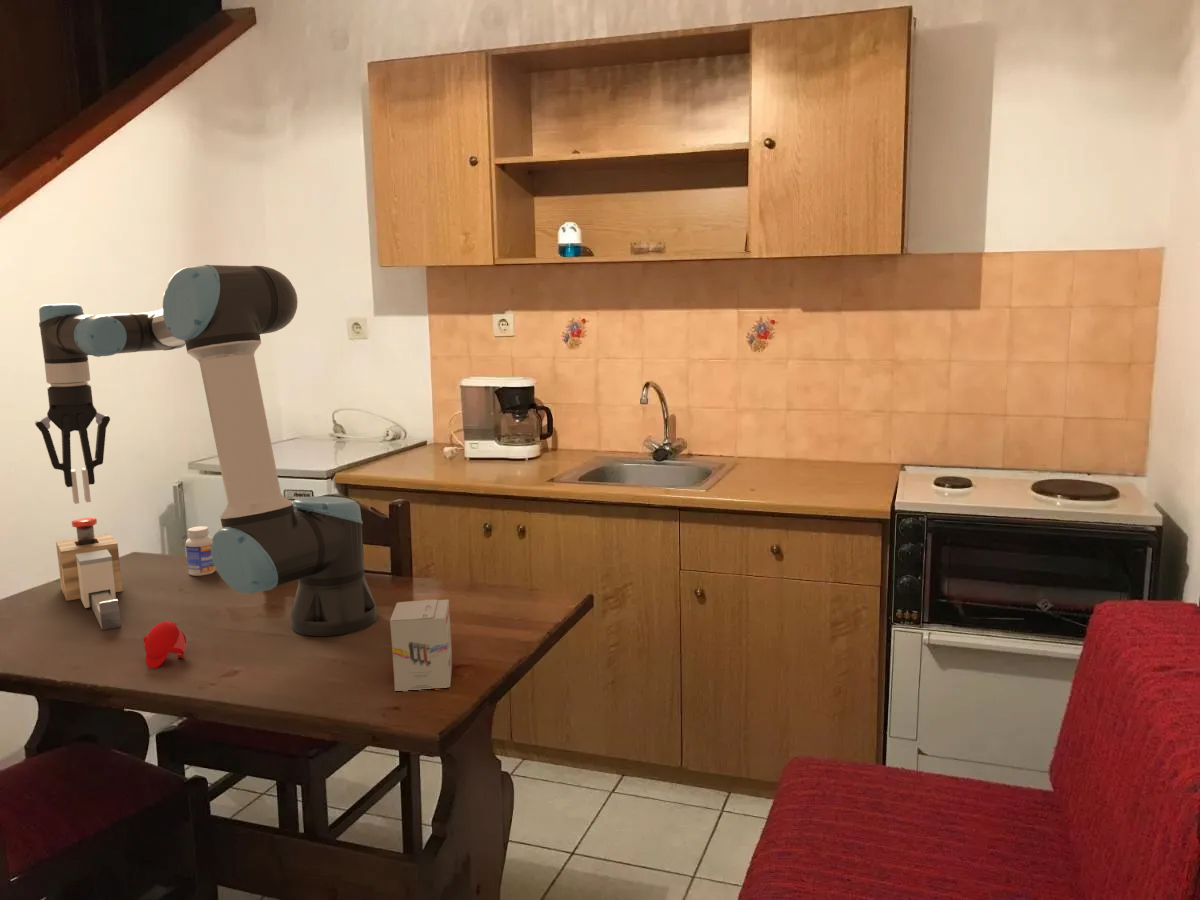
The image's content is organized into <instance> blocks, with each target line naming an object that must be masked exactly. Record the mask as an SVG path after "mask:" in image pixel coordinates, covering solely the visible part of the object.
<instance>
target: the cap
mask: <svg viewBox="0 0 1200 900" xmlns="http://www.w3.org/2000/svg"><path fill="white" fill-rule="evenodd" d="M142 641H143V643H144V652H145V663H146V666H147V667H148V668H149V669H152V668H154V669H157V668H159V667H161V666H162V665H163V663H164V662H165V661H166V659H167V657H168V655H169V654H172V653H173V654H176V655H177V657H178V658H179V659H182V658H183V657H184V656H185V652H186V646H187V645H186V644H187V638H186V635H185V633H184V632H183V631H182V630H180V628H179V627H178V626H177V624H176V623H175V622H171V621H162V622H159V623H157V624H156V625H154V626H153V627H152V628H151V629H150V630H149V632H148V633H147V635H145V636H144V637H143V638H142ZM154 669H153V670H154Z"/></svg>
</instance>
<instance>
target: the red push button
mask: <svg viewBox="0 0 1200 900" xmlns="http://www.w3.org/2000/svg"><path fill="white" fill-rule="evenodd" d="M97 520H98V519H97V518H95V517H82V518H77V519H74V520H72V521H71V527H72V528H76V537H77V538H78V545H79V546H81V545H88V544H95V537H94V536H95V530H94V525H97V523H98V521H97Z"/></svg>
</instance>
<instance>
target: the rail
mask: <svg viewBox="0 0 1200 900" xmlns="http://www.w3.org/2000/svg"><path fill="white" fill-rule="evenodd" d="M88 596H89V605H90V607H91V609H92V612H93V613H94V615H95V617H96V620H97V622H98V624H99V626H100V628H101V630H102V631H105V630H110V629H116V628H121V627H122V625H121V624H122V622H121V613H120V606H119V600H118V598H116V599H112V597H111V595H110V594H109V592H108V590H104V591H98V592H92V593H88Z"/></svg>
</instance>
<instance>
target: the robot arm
mask: <svg viewBox="0 0 1200 900" xmlns="http://www.w3.org/2000/svg"><path fill="white" fill-rule="evenodd" d="M297 295H298V294H297V292H296V289H295V286H294V285H293V283H292V282H291V281H290V279H289V278H288V277H287V276H285V274H283V273H282V272H280V271H279V270H276V269H274V268H272V267H269V266H264V265H220V264H218V265H217V264H214V265H213V264H203V265H194V266H186V267H183V268H181V269H179V270H177V271H176V272H175V273H174V274H173V275H172V276H171V278H170V279H169V281H168V283H167V286H166V287H165V289H164V293H163V299H162V308H161V309H158V310H154V311H149V312H138V313H109V314H108V313H107V314H85V313H84V310H83V307H82V305H80V304H78V303H55V304H54V303H53V304H42V305H41V306H40V307H39V310H38V313H39V315H38V316H39V323H38V326H39V329H40V338H41V346H42V353H43V359H44V368H45V369H44V371H45V379H46V380H45V381H46V383H47V384H49V385H48V387H47V397H48V406H49V407H48V408H49V409H48V411H47V414H46V416H45V417H42V418H41V419H40V420H39V419H37V420H36V421H35V422H34V424H35V426H36V428H38V430H39V431H40V432H41V435H42V438H43V441H44V444H45V447H46V450H47V453H48V456H49V459H50V464H51V466H52V468H53V469H54V470H59V471H63V479H64V485H65V487H66V488H71V492H72V501H73V503H74V504H75V505H77V504H80V498H79V488H78V481H77V472H76V470H75V468H73V469H72V458H71V457H72V456H71V450H72V449H71V432H74V431H76V432H78V435H79V439H80V440H79V441H80V445H81V451H82V455H83V460H84V461H83V462H84V465H85V466H84V467H82V468H81V476H82V477H81V478H82V485H83V486H82V488H83V495H84V501H85V503H91V501H92V500H91V490H90V485H95V483H96V482H95V481H96V480H95V470H94V469H95V468H96V467H97V466H100V465H102V464H103V463H104V456H105V455H104V453H105V444H106V433H107V427H108V425H109V422H110V421H111V417H110V416H108V415H107V414H103V413H100V412H98V411H97V409H96V408H95V406H94V401H93V394H92V393H93V392H92V385H90V383H88V382H90V380H91V372H90V364H89V356H93V357H97V358H99V357H109V356H114V355H117V354H126V353H127V354H130V353H138V352H139V353H140V352H154V351H172V350H175V349H181V348H183V347H186V353H187V355H189V356H191V357H192V358H194V359H195V360H197V361H198V363H199V368H200V372H201V377H202V378H201V379H202V382H203V387H204V388H203V389H204V392H205V397H206V403H207V407H208V412H209V419H210V422H211V426H212V434H213V437H214V443H215V448H216V452H217V457H218V462H219V467H220V473H221V477H222V482H223V487H224V492H225V497H226V504H227V505H226V507H225V509H224V510H223V512H222V513H221V515H220V516H219V518H220V523H221V528H220V529H218V530H217V531H216V532H215V533H214V534H213V537H212V541H213V543H212V544H211V554H212V559H213V562H214V565H215V570H216V571H217V573H218V574H219V576H220V578H221V579H222V580H223V581H224V582H225V583H226V584H227V585H228V586H229V587H230V588H231V589H232V590H235V591H236V592H239V593H241V594H248V595H249V594H251V595H252V594H256V593H260V592H263V591H271V590H273V589H274V588H277V587H279V586H282V585H285V584H288V583H292V582H294V581H297V580H298V582H297V583H298V584H297V588H296V592H295V597H294V600H293V603H292V607H291V611H290V625H291V628H292V630H293V631H294V632H297V633H299V634H302V635H305V636H314V637H329V636H331V637H332V636H339V635H341V636H342V635H345V634H346V635H347V634H350V633H354V632H358V631H361V630H364V629H366V628H368V627H370V626H371V625H373V624H374V623H375V622H376V621H377V620H378V619H377V618H378V616H377V615H378V614H377V613H378V612H377V611H378V610H377V604H376V602H375V599H374V597H373V594H372V592H371V590H370V587H369V585H368V582H367V580H366V576H365V558H364V537H363V535H364V534H363V533H364V532H363V531H364V529H363V524H364V521H363V520H362V514H361V506H360V504H359V503H358V502H357V501H355V500H354V499H351V498H347V497H339V496H327V495H326V496H323V495H322V496H319V495H318V496H316V495H315V496H313V495H312V496H301V497H298V498H297V497H296V498H295V499H294V500H293V501H291V500H290V499H289V498H286V497H285V496H284V495H283V494H282V491H281V487H280V482H279V476H278V471H277V466H276V461H275V455H274V451H273V446H272V442H271V441H272V440H271V436H270V431H269V425H268V419H267V416H266V410H265V405H264V400H263V394H262V389H261V384H260V378H259V374H258V369H257V364H256V359H255V358H256V357H255V352H256V351H257V349H258V348H259V347H260V345H261V344H262V341H261V340H262V339H261V336H260V335H265V334H271V333H275V332H278V331H279V330H282V329H284V328H285V327H287V326H288V325H289V324H290V323H291V322H292V320H293V319H294V317H295V315H296V313H297V309H298V303H299V301H298V296H297ZM94 419H95V423H96V424H97V428H96V430H97V431H96V442H95V452H94V453H95V454H94V458H93V456H92V452H91V445H90V441H89V434H88V427H89V426H90V425H91V423H92V422H93V420H94ZM50 422H52V423H53V424H54V425H55V426H56V427H57V428H58V429H59V430H60V431H61V453H62V454H61V456H62V457H61V458H62V462H60V460H59V457H58V454H57V450H56V448H55V445H54V442H53V438H52V435H51V432H50V431H49V429H50V428H51V423H50Z"/></svg>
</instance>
